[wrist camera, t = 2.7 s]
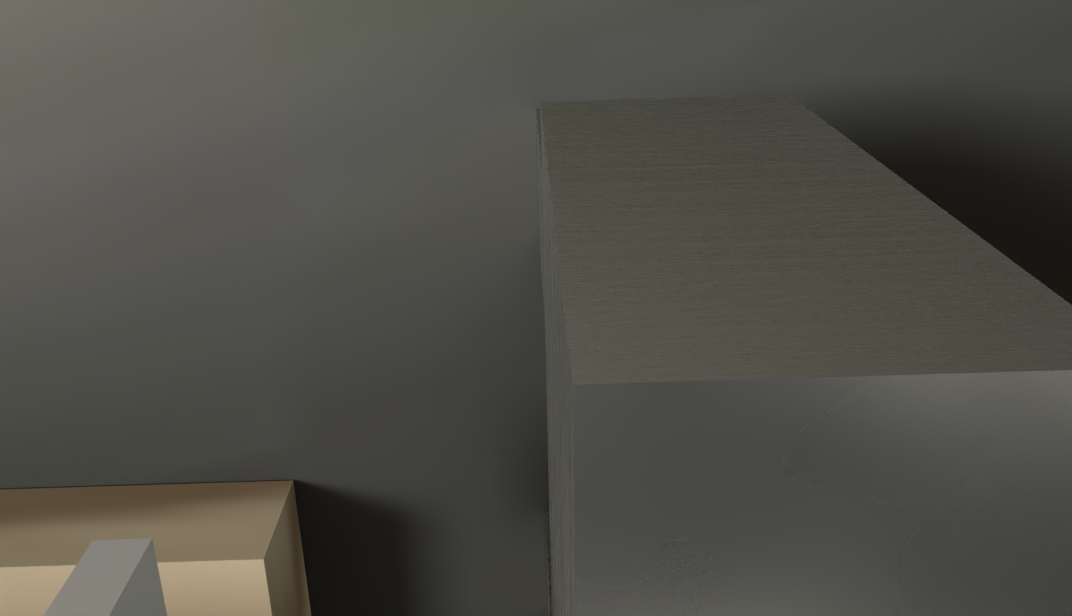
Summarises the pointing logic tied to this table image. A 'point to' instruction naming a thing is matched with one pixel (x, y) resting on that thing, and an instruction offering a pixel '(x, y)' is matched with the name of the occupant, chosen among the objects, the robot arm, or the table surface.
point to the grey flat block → (787, 378)
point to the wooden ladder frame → (161, 544)
